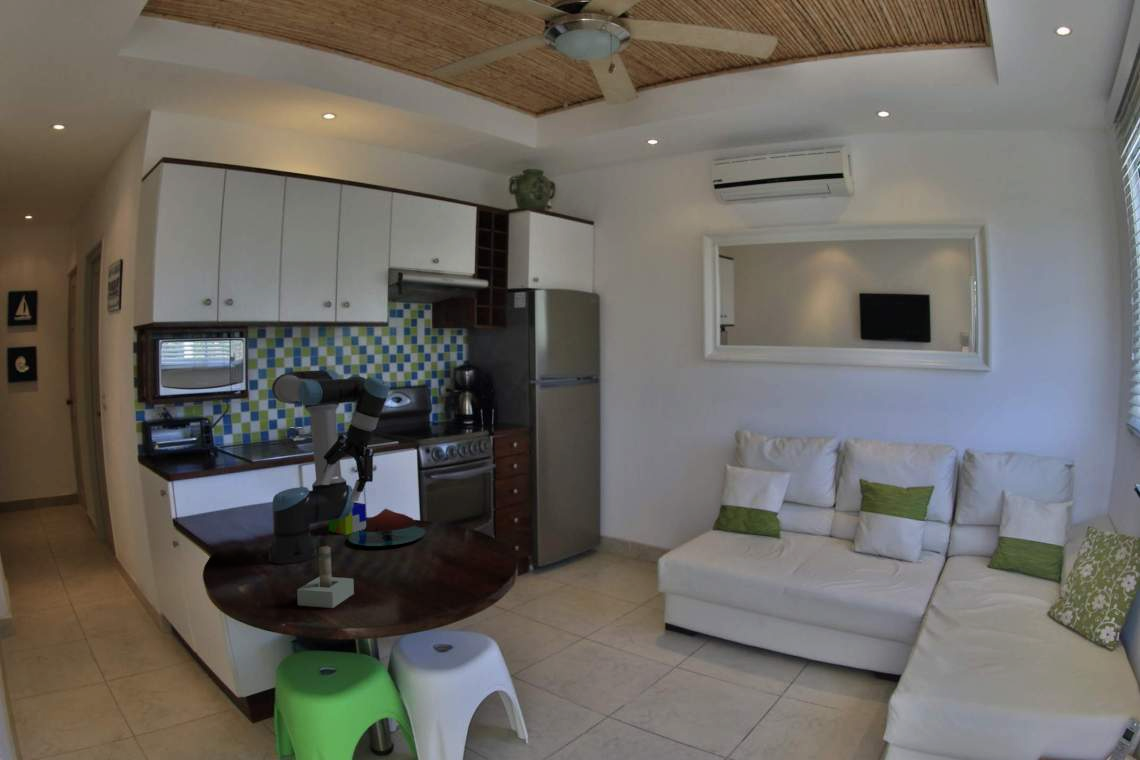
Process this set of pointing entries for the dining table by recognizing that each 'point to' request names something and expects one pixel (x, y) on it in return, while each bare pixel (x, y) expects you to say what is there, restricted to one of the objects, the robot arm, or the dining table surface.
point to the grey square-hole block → (325, 593)
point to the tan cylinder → (325, 566)
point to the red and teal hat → (387, 530)
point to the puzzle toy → (350, 521)
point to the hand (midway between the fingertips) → (338, 492)
